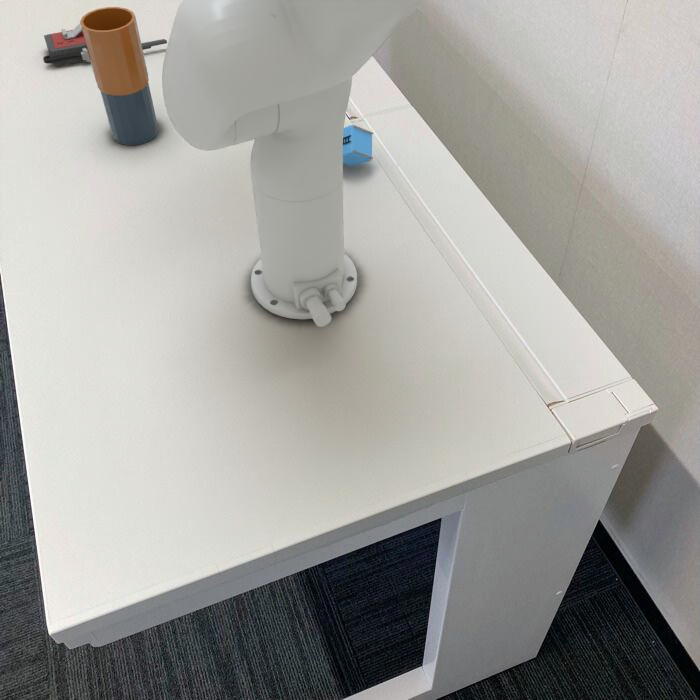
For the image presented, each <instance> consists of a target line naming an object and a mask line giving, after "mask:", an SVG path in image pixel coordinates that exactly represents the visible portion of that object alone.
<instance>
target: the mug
mask: <svg viewBox="0 0 700 700" xmlns="http://www.w3.org/2000/svg"><path fill="white" fill-rule="evenodd" d="M99 92H100V95H101V98H102V102H103V106H104V110H105V113H106V117H107V121H108V125H109V129H110V133H111V135H112V139H113V140H114V141H115V142H117V143H118V144H121V145H125V146H138V145H139V146H140V145H143V144H146V143H148V142H151V141H152V140H153V139H155V138H156V137H157V135H158V134H159V125H158V119H157V115H156V111H155V106H154V103H153V102H154V101H153V97H152V93H151V87H150V83H149V82H148V84H147V85H146V86H145V87H144V88H143V89H141V90H140V91H138V92H135V93H132V94H128V95H121V96H115V95H108V94H105V93H103V92H102V91H100V90H99Z"/></svg>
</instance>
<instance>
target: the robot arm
mask: <svg viewBox="0 0 700 700" xmlns="http://www.w3.org/2000/svg"><path fill="white" fill-rule="evenodd" d="M425 1H426V0H182V1H181V2H180V4H179V6H178V7H177V11H176V13H175V16H174V20H173V23H172V27H171V30H170V33H169V39H168V41H167V46H166V50H165V54H164V58H163V62H162V63H163V64H162V72H161V84H162V85H161V87H162V88H161V89H162V96H163V101H164V106H165V110H166V112H167V116H168V117H169V120H170V122H171V124H172V126H173V128H174V130H175V131H176V132H177V133H178V135H179V136H180V137H181V138H182V139H183V141H185V142H186V143H187V144H188V145H190V146H192V147H193V148H194V149H197V150H201V151H207V152H208V151H209V152H210V151H218V150H221V149H226V148H229V147H233V146H237V145H241V144H243V143H246V142H251V141H253V140H254V141H253V143H252V146H251V147H252V148H251V152H250V160H249V161H250V162H249V163H250V164H249V165H250V175H251V176H250V177H251V185H252V192H253V202H254V210H255V218H256V225H257V234H258V242H259V249H260V250H259V251H260V258H259V259H258V261H256V263H255V265H254V266H253V267H252V270H251V274H250V286H251V291H252V295H253V296H254V299H255V300H256V301H257V302H258V304H259V305H260V306H262V307H263V308H264V309H265V310H267V311H268V312H270V313H272V314H274V315H277V316H279V317H282V318H286V319H290V320H291V319H292V320H312V321H313V322H314V324H315V325H316V326H317V327H319V328H323V327H326V326H327V325H329V324H330V323H331V322H332V318H333V317H332V315H331V314H333V313H335V312H342V311H343V310H344V309H346V306H347V304H348V303H349V301H350V300H351V299H352V298H353V297H354V295H355V292H356V290H357V286H358V272H357V271H358V270H357V267H356V265H355V264H354V261H353V260H352V259H351V258H350V256H348V254H346V253H345V243H344V242H345V241H344V240H345V239H344V237H345V236H344V179H343V178H344V177H343V176H344V164H343V132H344V128H345V123H346V116H347V112H348V111H347V109H348V105H349V101H350V96H351V90H352V83H353V76H355V75H356V74H357V73H358V72H359V71H360V70H361V68H363V66H365V64H367V62H368V61H369V60H370V59H371V58H372V57H373V56H374V55H375V54H376V53H377V51H378V50H380V48H382V46H383V45H384V44H385V43H386V42H387V41H388V40H389V39H390V38H391V37H392V36H393V35H394V34H395V32H396V31H397V30H398V29H399V27H400V26H401V25H402V24H403V23H404V21H406V19H407V18H408V17H410V15H412V14H413V13H414V11H415V10H416V9H418V7H420V6H421V5H422V4H423V3H425Z"/></svg>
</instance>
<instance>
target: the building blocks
mask: <svg viewBox="0 0 700 700" xmlns="http://www.w3.org/2000/svg"><path fill="white" fill-rule="evenodd" d="M373 135H374V132H373V131H370V130H368V129H366V128H362V127H360V126H358V125H356V124H350V125H347V126H344V132H343V165H345V166H348V167H356V166H359V165H362V164H364V163H367V162H371V161H372V160H373V159H374V156H373Z"/></svg>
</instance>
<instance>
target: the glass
mask: <svg viewBox="0 0 700 700" xmlns="http://www.w3.org/2000/svg"><path fill="white" fill-rule="evenodd" d="M79 24H81V28H82V32H83V36H84V39H85V43H86V47H87V50H88V54H89V58H90V61H91V62H90V65H91V68H92V72H93V75H94V79H95V82H96V86H97V88H98V90H99V92H100V91H102V92H103V93H105V94H108V95H115V96H121V95H128V94H132V93H135V92H138V91H140V90H141V89H143V88H144V87H145V86H146V85H147V84H148V83H149V72H148V68H147V64H146V58H145V55H144V50H143V49H142V45H141V43H142V41H141V36H140V35H141V34H140V31H139V27H138V21H137V18H136V14H135V12H133V11H132V10H130V9H128V8H126V7H120V6H106V7H101V8H96V9H94V10H91V11H89V12H86V13H85V14H84V15H82V16H81V19H80V20H79Z"/></svg>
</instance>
